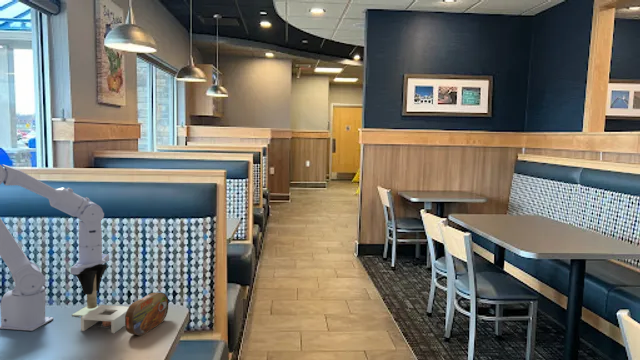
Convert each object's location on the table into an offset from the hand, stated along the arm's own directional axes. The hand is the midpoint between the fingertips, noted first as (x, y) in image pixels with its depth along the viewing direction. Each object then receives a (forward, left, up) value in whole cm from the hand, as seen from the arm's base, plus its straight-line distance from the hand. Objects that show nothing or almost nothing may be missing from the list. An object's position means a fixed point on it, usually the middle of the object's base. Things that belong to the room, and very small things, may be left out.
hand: (91, 292), depth 126 cm
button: (+10, -8, -5) cm, 13 cm away
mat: (0, 0, -6) cm, 6 cm away
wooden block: (0, 0, -4) cm, 4 cm away
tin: (+20, -8, -6) cm, 23 cm away
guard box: (+9, -8, -6) cm, 13 cm away
